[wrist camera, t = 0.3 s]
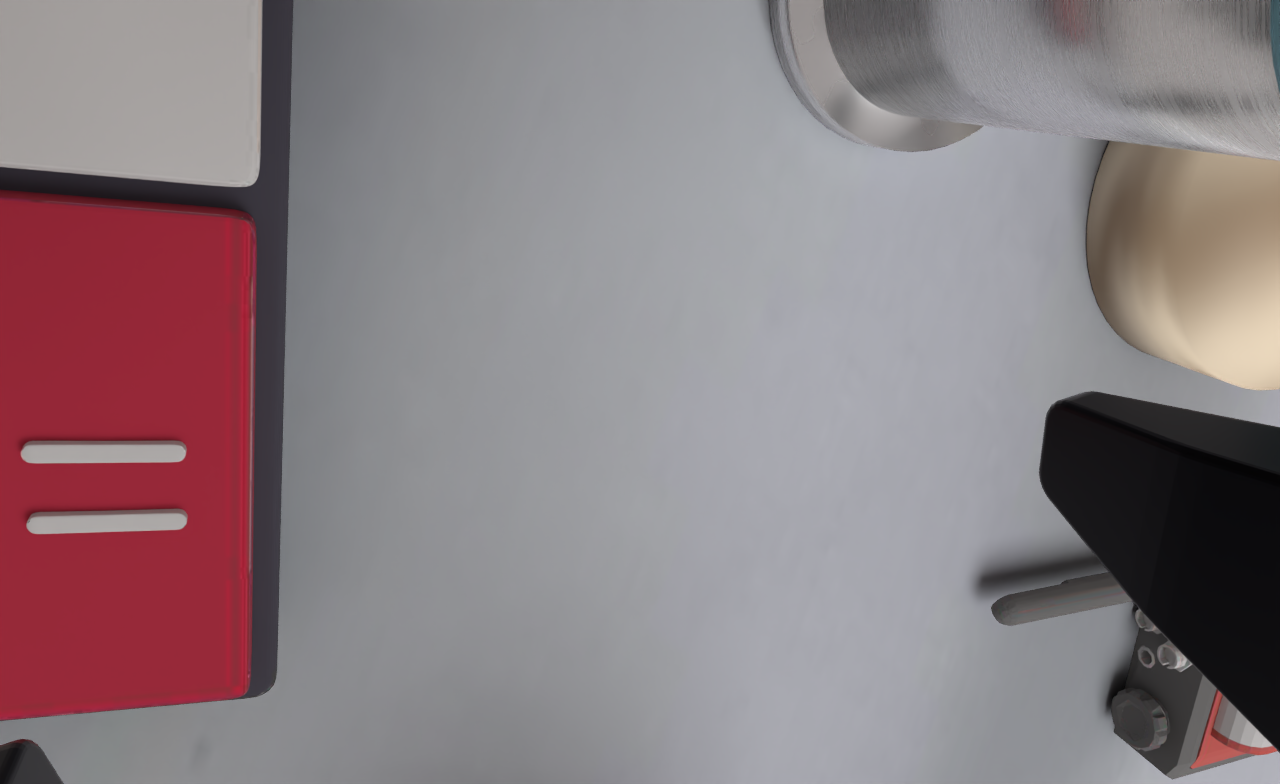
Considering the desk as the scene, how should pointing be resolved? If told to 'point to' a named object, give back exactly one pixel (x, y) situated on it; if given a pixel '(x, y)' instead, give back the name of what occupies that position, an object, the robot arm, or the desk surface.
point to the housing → (1038, 70)
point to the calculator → (141, 350)
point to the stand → (1190, 258)
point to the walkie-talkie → (1151, 686)
